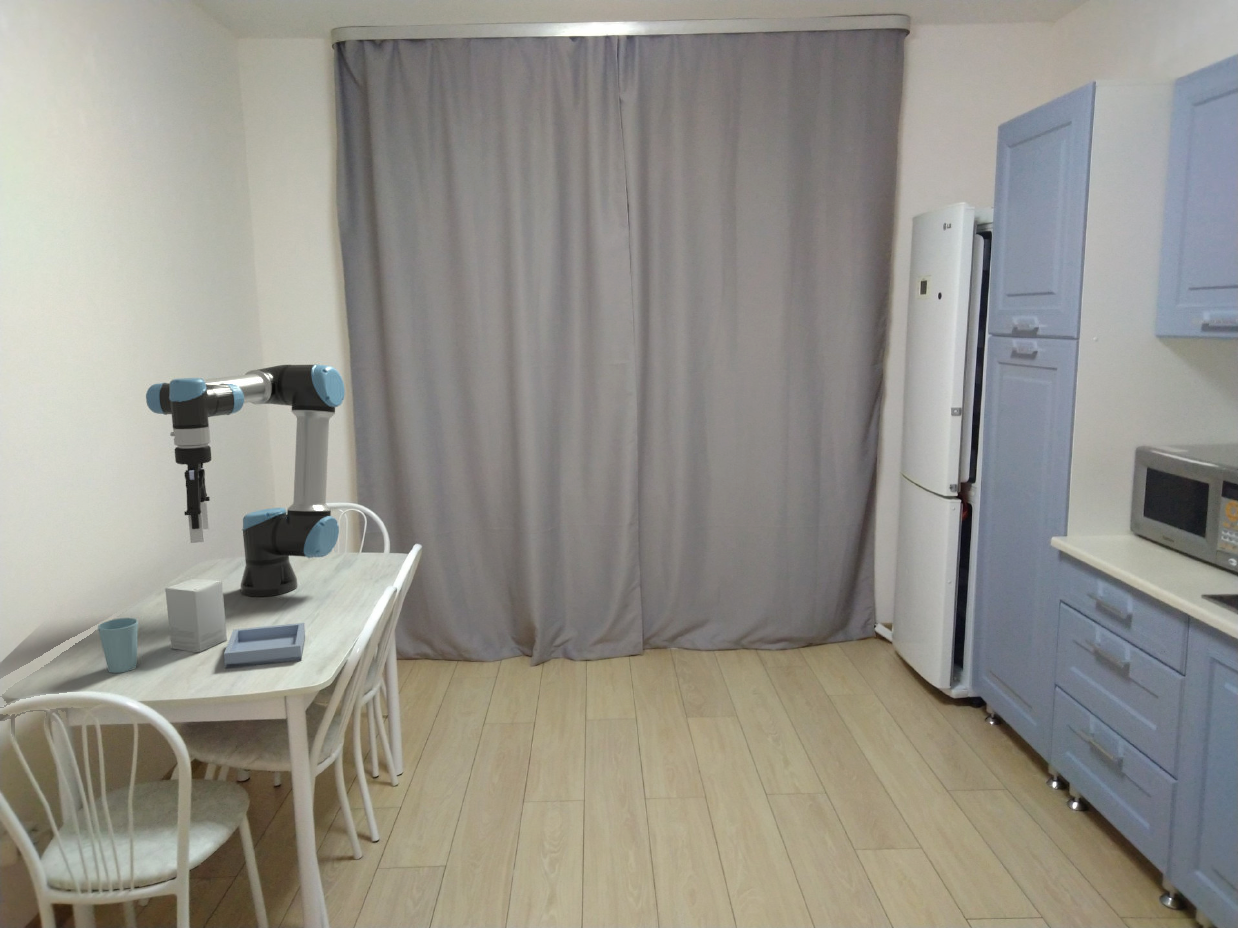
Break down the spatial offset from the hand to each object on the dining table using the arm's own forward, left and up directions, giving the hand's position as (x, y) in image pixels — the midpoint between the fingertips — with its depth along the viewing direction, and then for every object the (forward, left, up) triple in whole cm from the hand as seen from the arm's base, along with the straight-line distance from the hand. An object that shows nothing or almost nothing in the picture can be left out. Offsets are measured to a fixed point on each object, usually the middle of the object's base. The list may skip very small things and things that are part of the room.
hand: (200, 535), depth 205 cm
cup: (+10, -16, -27) cm, 33 cm away
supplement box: (-1, -2, -27) cm, 27 cm away
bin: (+9, +14, -27) cm, 31 cm away
